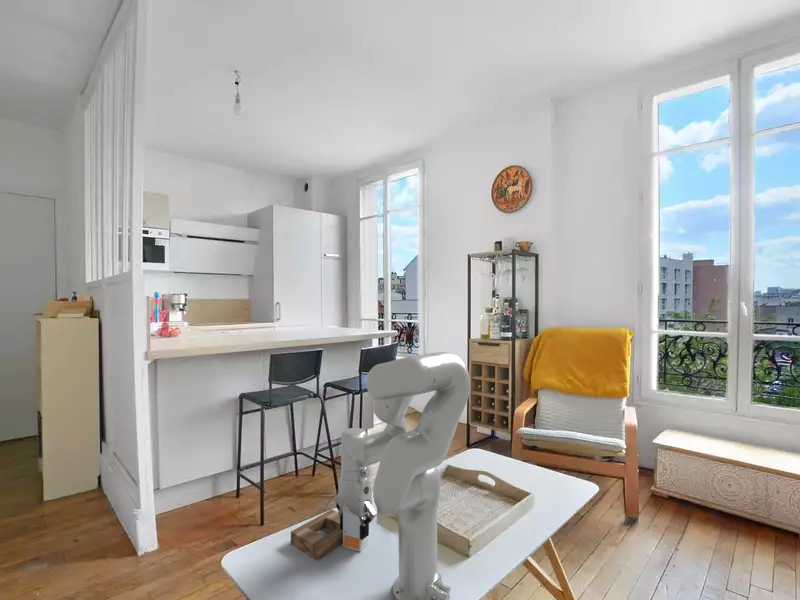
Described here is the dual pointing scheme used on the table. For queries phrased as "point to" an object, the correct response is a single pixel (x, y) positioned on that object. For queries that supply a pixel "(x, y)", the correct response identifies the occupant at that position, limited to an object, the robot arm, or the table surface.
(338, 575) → the table surface
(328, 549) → the socket block
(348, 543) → the skincare box
